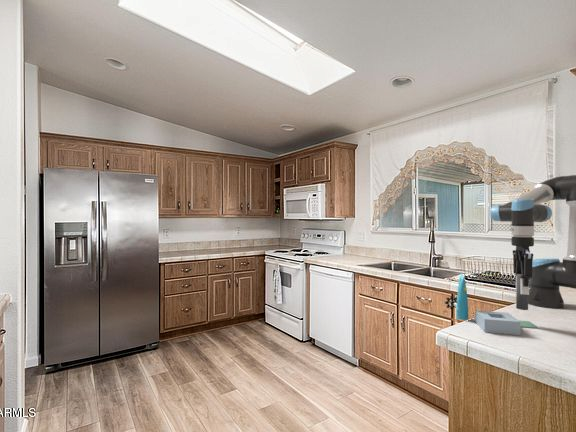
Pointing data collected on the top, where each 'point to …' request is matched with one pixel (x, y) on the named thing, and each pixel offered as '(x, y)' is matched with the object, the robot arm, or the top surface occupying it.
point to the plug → (520, 295)
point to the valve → (451, 302)
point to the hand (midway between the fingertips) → (522, 292)
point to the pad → (527, 324)
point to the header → (497, 322)
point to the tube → (462, 300)
